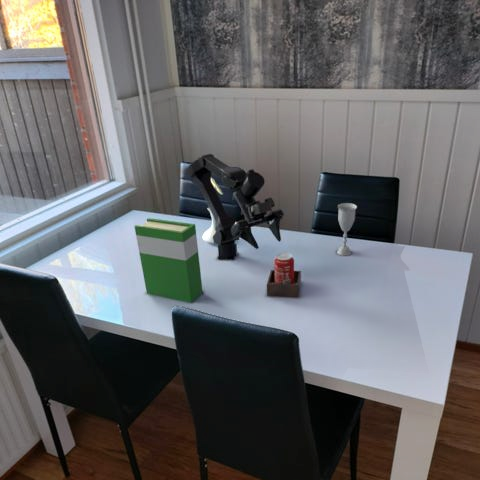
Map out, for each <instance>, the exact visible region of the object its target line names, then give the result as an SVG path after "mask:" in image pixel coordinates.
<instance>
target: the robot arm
mask: <svg viewBox="0 0 480 480" xmlns="http://www.w3.org/2000/svg"><path fill="white" fill-rule="evenodd" d="M212 174H214V175H215V176H216V177H218V178H220V180H221V182H222V183H221V184H222V185H223V186H225V188H226V189H227V190H229V191H231V190H235V189H236V190H235V191H233V194H232V196H231V197H232V198H231V199H232V201H236V202H237V204H238V206H239V208H240V210H241V211H240V215H241V216H244V218H245V219H241V220H237V219H236V217H235V215H229V214H228V213H227V211H226V209H225V207H224V205H223V203H222V201H221V198H220V196H219V194H218V191H217V190H216V189H215V188H214V186H213V184H212V182H211V178H212ZM186 175H187V177H188V178H189V180H190V181H191V183H192V184H193V185H194V186H196V187H198V188H199V190H200V191H201V194H202V196H203V198H204V200H205V201H206V204H207V206H208V207H209V208H210V210H211V212H212V214H213V216H214V218H215V221H216V224H215V230H216V233H215V234H214V236H213V241H214V243H213V244H216V245H217V253H218V255H217V260H232V261H233V260H235V259H236V257H237V255H238V244H237V243H236V241H240V239H242V240H243V241H245V242H246V243H248V244H249V245H250V246H252V247H253V248H254V249H255V250H259V248H260V247H259V245H258V242H257V240H256V239H255V237H254V235H253V232H252V228H253V227H256V226H260V225H263V224H267V225H269V226H268V229H269V231H270V232H271V234H272V235H273V236H274V238H275V239H276V240H277V241H278V242H279V243H280V242H281V241H282V236H281V230H280V229H281V228H280V223H281V221H282V220H283V217H284V216H285V213H284V211H283V210H282V209H281V208H278V209H274V210H273V208H275V206H276V204H275V201H274V199H273V198H272V197H268V198H265V199H264V201H263V202H261V201H260V200H257V199H256V196H257V195H258V194H259V192H260V191H261V189H262V188H263V187H264V186H265V178H264V176H263V175H262V174H260V173H259V172H256V171H255V170H254V169H252V168H251V169H248V170H247V171H245V169H244V168H243V169H242V168H240V167H236V166H235V167H233V166H232V167H231V166H229V165H228V164H226V163H225V162H223V161H221V160H220V159H219V158H218V157H215V155H214V154H212V153H206V154H202V155H200V156H198V158H197V159H195V160H194V161H192V162H191V163H190V164H188V166H187V168H186ZM268 212H269V213H268Z"/></svg>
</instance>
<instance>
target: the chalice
mask: <svg viewBox="0 0 480 480" xmlns="http://www.w3.org/2000/svg"><path fill="white" fill-rule="evenodd" d="M357 208H358V206H357V205H356V204H354V203H351V202H342V203H339V204H338V205H337V209H338V213H337V214H338V215H337V217H338V218H337V220H338V225H339V226H340V229H341V231H342V232H343V235H342V237H343V239H342V242H343V243H342V245H341V246H340V247H338V250H337V254H338V255H339V256H350V255H351V254H352V252H351V250H350V247H349V246H348V245H347V242H348V240H347V237H348V232H349V231H350V230H351V228H352V227H353V225H354V222H355V220H356V210H357Z"/></svg>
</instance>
